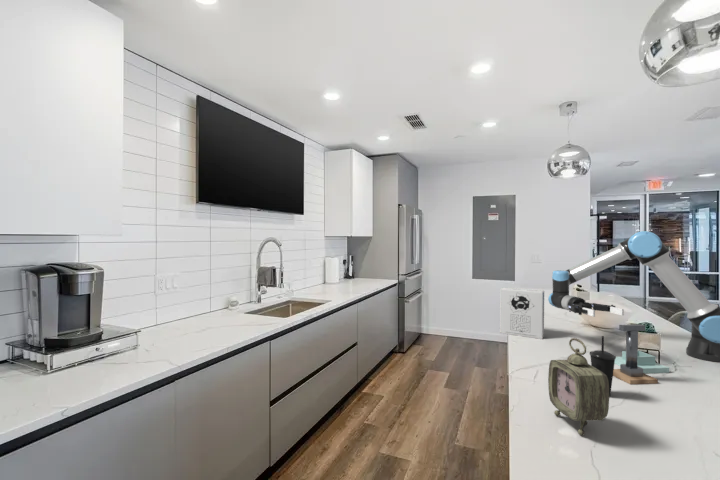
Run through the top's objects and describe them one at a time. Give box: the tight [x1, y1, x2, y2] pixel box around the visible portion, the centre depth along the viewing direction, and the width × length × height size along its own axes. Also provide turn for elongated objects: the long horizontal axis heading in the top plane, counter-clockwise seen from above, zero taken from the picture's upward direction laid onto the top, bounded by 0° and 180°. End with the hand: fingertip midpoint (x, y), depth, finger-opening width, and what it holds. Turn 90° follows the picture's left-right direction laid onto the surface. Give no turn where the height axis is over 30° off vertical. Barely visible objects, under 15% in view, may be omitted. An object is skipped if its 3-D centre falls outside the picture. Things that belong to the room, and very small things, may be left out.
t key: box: [618, 323, 646, 377], centre depth 139 cm, size 9×5×19 cm, turn 95°
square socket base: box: [614, 350, 670, 374], centre depth 151 cm, size 14×14×6 cm
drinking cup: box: [589, 335, 617, 397], centre depth 125 cm, size 8×8×20 cm
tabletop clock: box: [547, 337, 610, 437], centre depth 104 cm, size 14×9×25 cm, turn 4°
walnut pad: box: [613, 368, 659, 385], centre depth 139 cm, size 11×11×2 cm
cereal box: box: [499, 287, 545, 340], centre depth 200 cm, size 22×8×25 cm, turn 58°
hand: (608, 312), depth 156 cm, fingers open, 13 cm apart
